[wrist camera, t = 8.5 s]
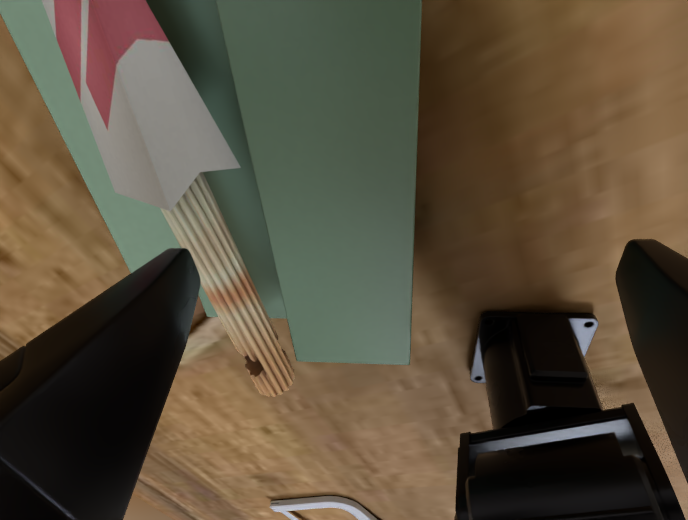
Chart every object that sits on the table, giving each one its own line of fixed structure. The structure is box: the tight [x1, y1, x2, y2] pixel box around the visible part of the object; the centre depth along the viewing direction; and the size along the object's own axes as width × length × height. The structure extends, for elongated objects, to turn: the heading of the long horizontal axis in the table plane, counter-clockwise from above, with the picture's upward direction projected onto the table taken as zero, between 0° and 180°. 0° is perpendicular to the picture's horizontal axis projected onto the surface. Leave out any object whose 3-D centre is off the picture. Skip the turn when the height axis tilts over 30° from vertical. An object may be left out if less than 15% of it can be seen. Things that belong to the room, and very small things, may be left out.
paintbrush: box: [42, 0, 295, 397], centre depth 15 cm, size 4×3×20 cm
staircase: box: [0, 0, 422, 365], centre depth 18 cm, size 18×15×7 cm
